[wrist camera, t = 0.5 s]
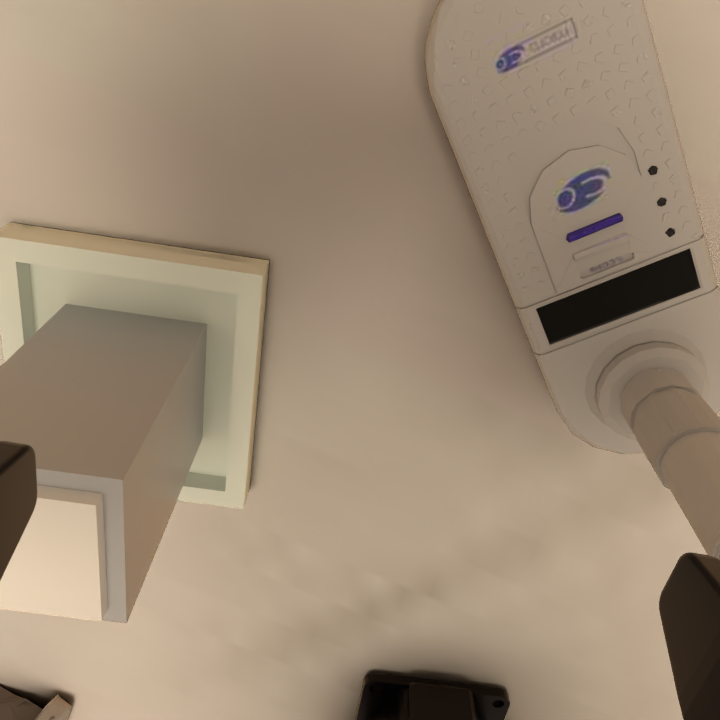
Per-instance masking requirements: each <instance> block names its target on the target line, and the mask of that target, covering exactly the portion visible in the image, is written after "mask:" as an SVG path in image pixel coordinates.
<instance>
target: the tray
mask: <svg viewBox="0 0 720 720" xmlns="http://www.w3.org/2000/svg"><path fill="white" fill-rule="evenodd" d="M268 271H269V260H262V259H256V258H249V257H242V256H235V255H228V254H222V253H215V252H208V251H201V250H194V249H188V248H181V247H174V246H167V245H160V244H154V243H147V242H140V241H133V240H126V239H120V238H113V237H106V236H99V235H92V234H86V233H79V232H72V231H65V230H58V229H52V228H45V227H38V226H31V225H24V224H18V223H9V224H7V225H6V226H4V227H2V228H1V229H0V332H1V340H2V349H3V357H4V363H5V362H6V361H7V360H8V359H9V358H10V357H11V356H12V355H13V354H14V353H15V352H16V351H17V350H18V349H19V348H20V347H21V346H22V345H23V344H24V343H26V342H27V341H28V340H29V339H30V338H31V337H32V336H33V335H34V334H35V333H36V332H37V331H38V330H39V329H40V328H41V327H42V326H43V325H44V324H45V323H46V322H47V321H48V320H49V319H50V318H51V317H52V316H53V315H55V314H56V313H57V312H58V311H59V310H60V309H61V308H62V307H63V306H64V305H65V304H71V305H78V306H85V307H92V308H99V309H106V310H113V311H120V312H127V313H134V314H141V315H148V316H155V317H162V318H169V319H176V320H183V321H190V322H197V323H204V324H207V339H206V363H205V387H204V411H203V434H202V441H201V443H200V446H199V448H198V450H197V453H196V455H195V458H194V460H193V463H192V465H191V467H190V470H189V472H188V475H187V477H186V480H185V482H184V485H183V487H182V489H181V492H180V494H179V497H178V499H177V501H183V502H191V503H198V504H206V505H213V506H221V507H228V508H236V509H244V507H245V503H246V500H247V496H248V492H249V489H250V482H251V470H252V458H253V447H254V435H255V423H256V411H257V400H258V388H259V376H260V365H261V353H262V341H263V330H264V318H265V306H266V295H267V283H268Z"/></svg>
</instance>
